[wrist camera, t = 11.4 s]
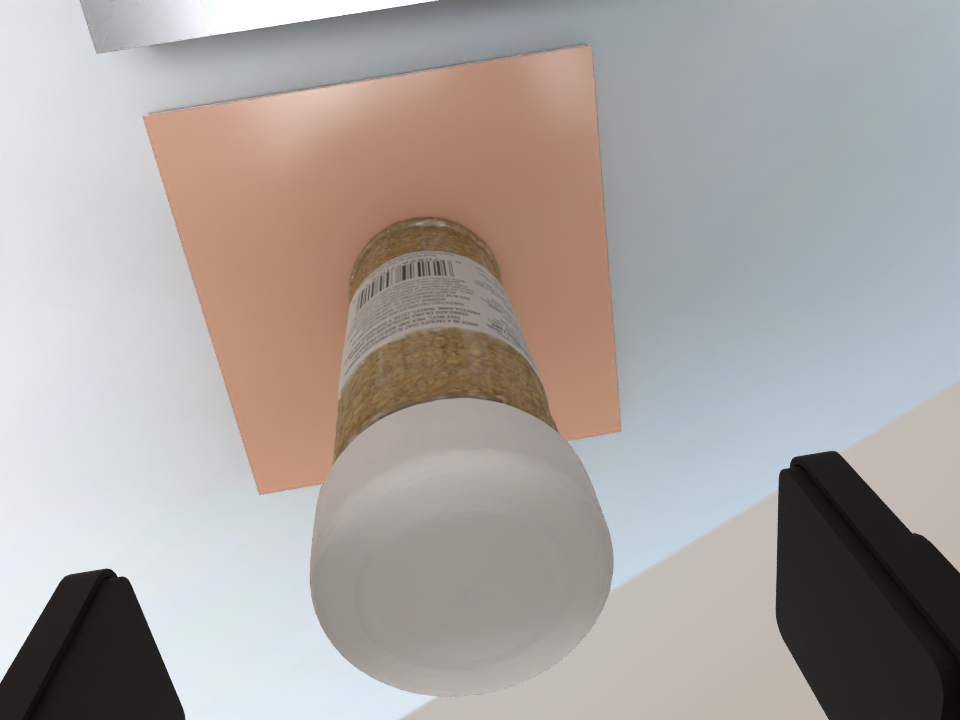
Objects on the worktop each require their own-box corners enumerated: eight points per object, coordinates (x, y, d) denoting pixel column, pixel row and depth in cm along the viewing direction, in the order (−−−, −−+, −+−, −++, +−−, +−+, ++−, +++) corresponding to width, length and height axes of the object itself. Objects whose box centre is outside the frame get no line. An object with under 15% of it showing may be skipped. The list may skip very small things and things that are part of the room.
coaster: (587, 43, 22) (591, 45, 21) (616, 422, 27) (621, 431, 27) (148, 113, 22) (142, 116, 21) (262, 484, 27) (259, 494, 26)
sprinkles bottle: (358, 363, 25) (326, 727, 12) (340, 217, 23) (281, 477, 10) (506, 350, 25) (617, 692, 13) (501, 205, 23) (625, 443, 11)
